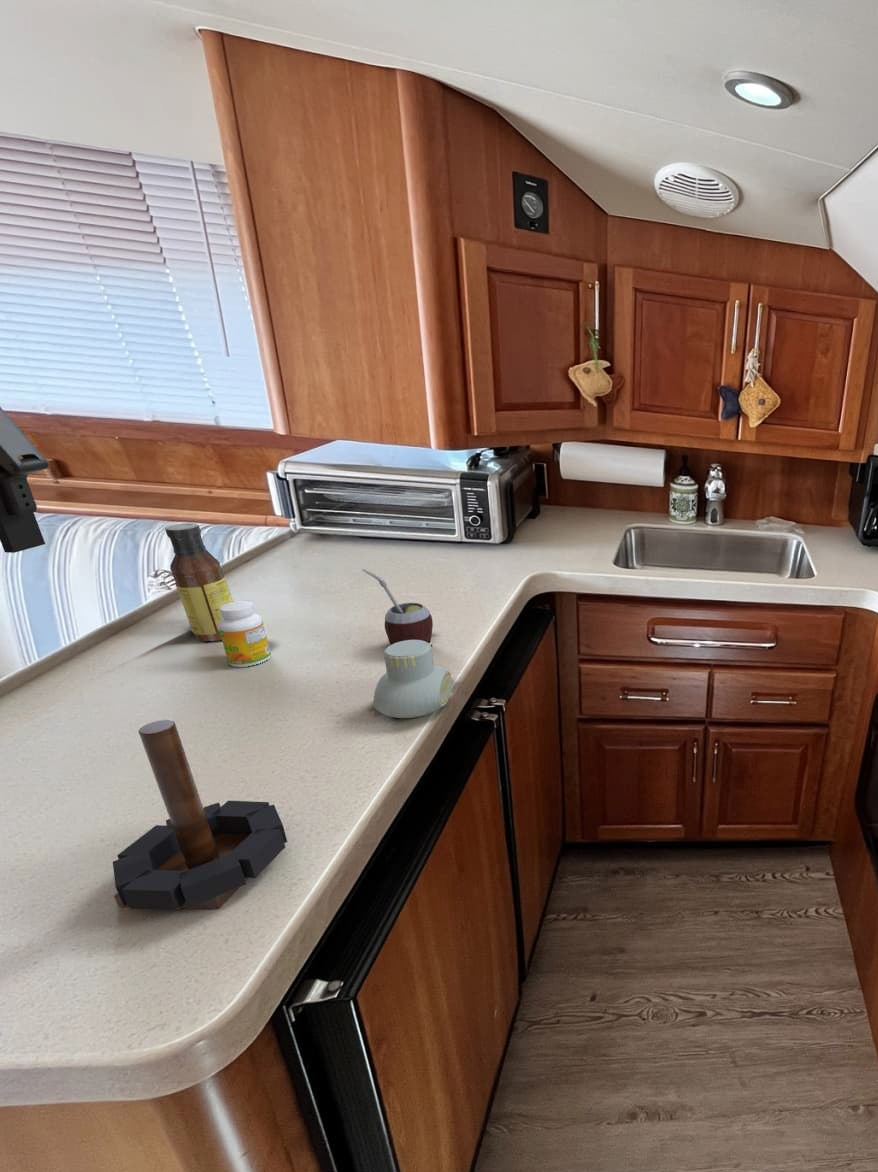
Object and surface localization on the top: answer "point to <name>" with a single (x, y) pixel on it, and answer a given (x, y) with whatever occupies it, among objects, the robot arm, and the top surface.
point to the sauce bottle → (198, 581)
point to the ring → (206, 881)
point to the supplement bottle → (243, 635)
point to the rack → (184, 807)
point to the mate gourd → (406, 619)
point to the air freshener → (411, 681)
